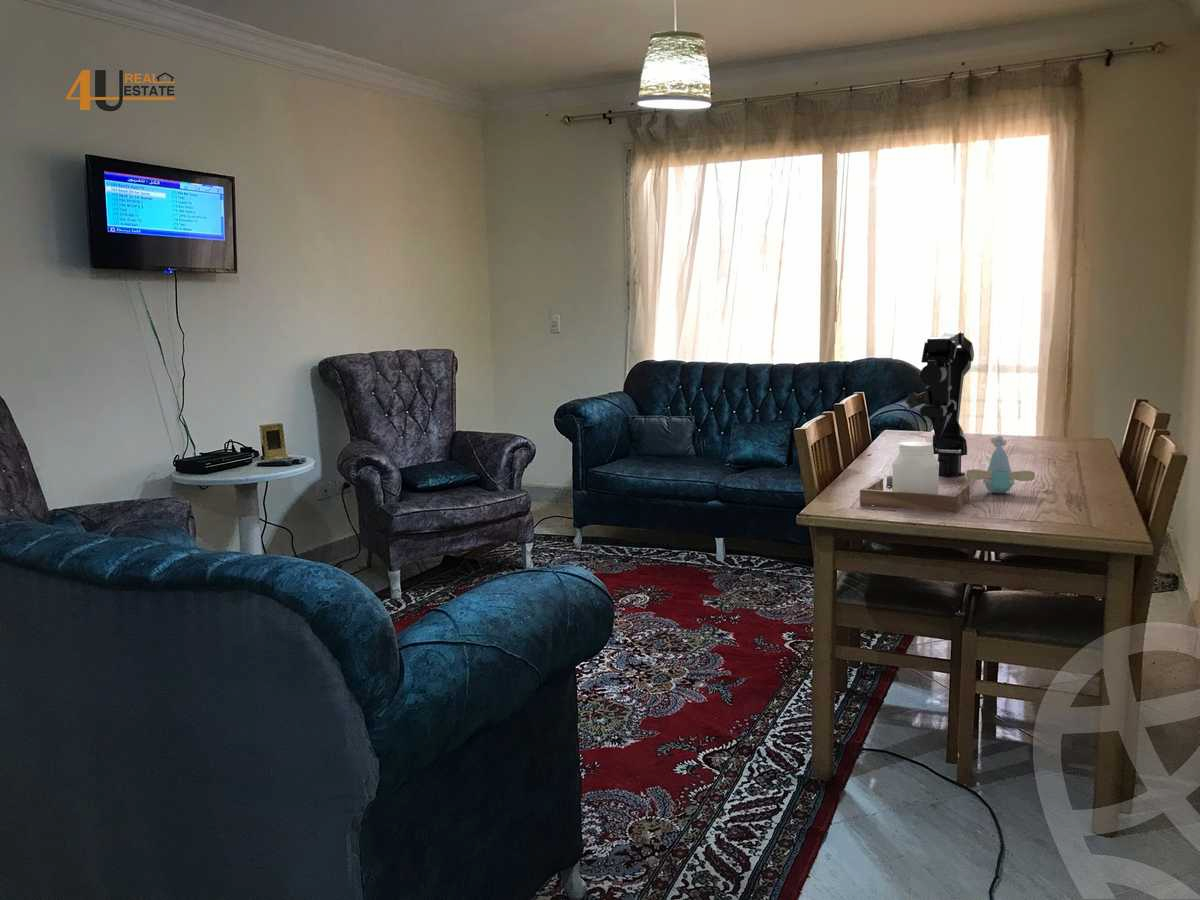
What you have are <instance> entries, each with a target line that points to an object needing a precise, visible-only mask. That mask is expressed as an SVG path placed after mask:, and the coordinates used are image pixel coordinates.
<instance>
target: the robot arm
mask: <svg viewBox="0 0 1200 900" xmlns="http://www.w3.org/2000/svg"><path fill="white" fill-rule="evenodd" d="M922 351H923V352H922V357H921V362H920V363H923V364H924V363H926V365H925V366H924V367H923V368H922V369H921V370H920V372H919V378H920V380H921V382H922V383H923V384H924V385H925V386H926V387H925V388H924V392H921V393H916V392H911V393H909V394H908V395H907V397H906V398H905V399H906V402H905V404H906V405H908V408H909V410H911V409H915V407H919V406H922V405H923V406H922V407H920V408H919V417H926V418H927V419H929V420H930V421H931V424H932V428H933V429H932V430H933V432H934V433H933V435H932V444H933V450H932V451H933V454H934V455H937V460H938V462H939V476H943V475H945V476H944V477H949V476H950V477H951V476H952V477H958V476H964V475H965V476H966V472H962V457H963V456H968V442H967V439H966V438H965V434H964V430H963V429H962V426H961V425H960V413H961V405H962V404H961V403H962V395H963V386H964V379H965V376H966V374H968V373H969V371H970V370H971V367H972V362H974V358H975V351H974V346H973V342H971V341H970V340H969V339H968V338H967V337H965V334H964V332H963V331H960V330H958V331H957V330H956V331H953V330H951V331H949V330H948V331H945V332H944V334H942V335H941V336H939V337H938V336H935V337H934V336H931V337H928V338H927V340H925V341H924V344H923V350H922ZM950 477H949V478H950Z"/></svg>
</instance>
